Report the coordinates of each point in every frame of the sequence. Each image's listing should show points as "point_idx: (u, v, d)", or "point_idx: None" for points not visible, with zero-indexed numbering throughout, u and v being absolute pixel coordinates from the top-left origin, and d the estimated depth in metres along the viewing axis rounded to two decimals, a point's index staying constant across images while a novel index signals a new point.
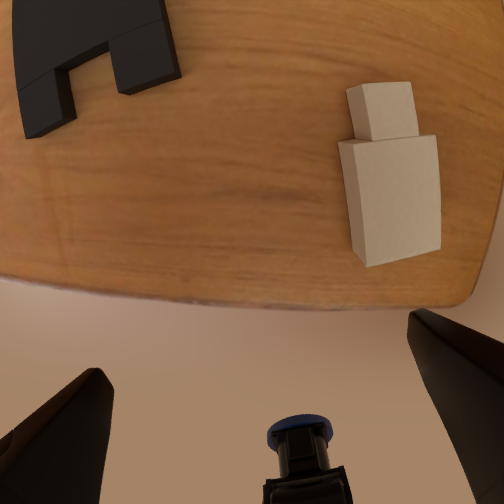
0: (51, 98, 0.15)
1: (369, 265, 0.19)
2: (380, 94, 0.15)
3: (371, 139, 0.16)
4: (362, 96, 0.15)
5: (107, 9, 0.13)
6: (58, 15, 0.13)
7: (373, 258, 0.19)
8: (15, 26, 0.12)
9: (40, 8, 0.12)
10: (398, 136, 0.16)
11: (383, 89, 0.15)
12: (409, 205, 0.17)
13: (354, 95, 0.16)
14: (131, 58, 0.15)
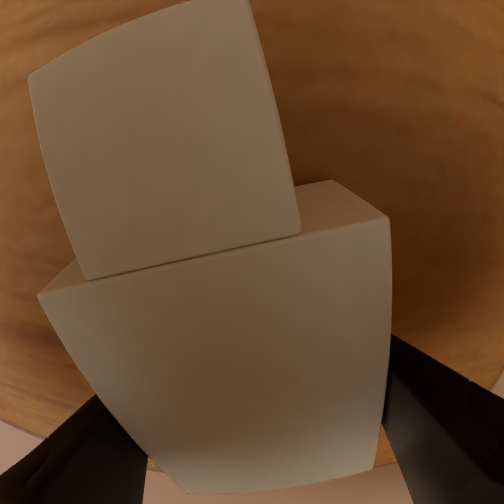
0: None
1: (190, 493, 0.07)
2: (87, 86, 0.03)
3: None
4: (42, 116, 0.04)
5: None
6: None
7: (194, 488, 0.07)
8: None
9: None
10: (185, 253, 0.04)
11: (99, 61, 0.03)
12: (269, 432, 0.06)
13: None
14: None
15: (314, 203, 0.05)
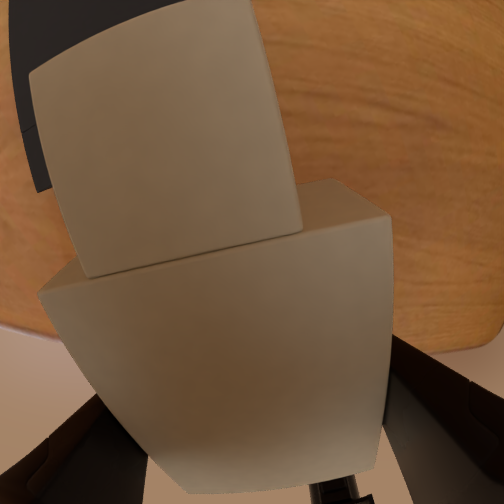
0: None
1: (191, 492, 0.07)
2: (88, 83, 0.03)
3: None
4: (43, 114, 0.04)
5: None
6: (67, 37, 0.11)
7: (195, 488, 0.07)
8: (13, 50, 0.11)
9: (43, 27, 0.11)
10: (187, 250, 0.04)
11: (100, 59, 0.03)
12: (270, 432, 0.06)
13: None
14: None
15: (315, 201, 0.05)
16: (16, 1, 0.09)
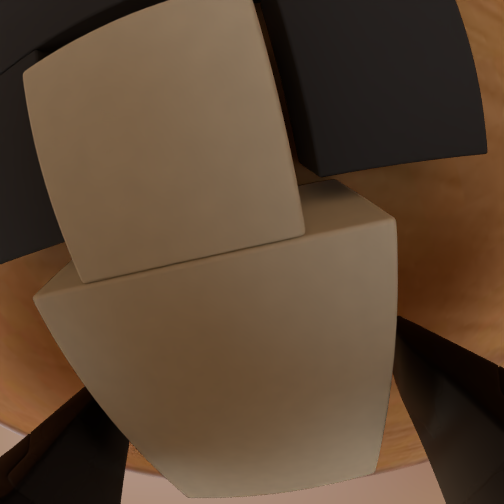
0: (30, 157, 0.04)
1: (191, 496, 0.07)
2: (83, 82, 0.03)
3: None
4: (37, 114, 0.03)
5: None
6: None
7: (195, 492, 0.07)
8: None
9: None
10: (185, 255, 0.04)
11: (96, 57, 0.03)
12: (270, 437, 0.06)
13: None
14: (372, 55, 0.04)
15: (317, 203, 0.05)
16: None
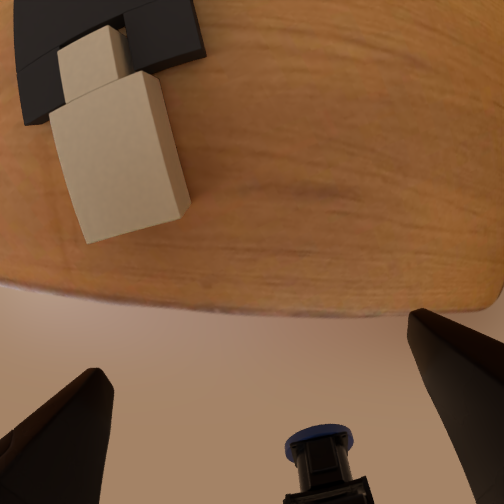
0: (55, 78, 0.13)
1: (88, 241, 0.16)
2: (73, 53, 0.11)
3: (66, 102, 0.13)
4: (60, 62, 0.12)
5: None
6: None
7: (89, 233, 0.15)
8: (17, 3, 0.10)
9: None
10: (91, 89, 0.12)
11: (76, 47, 0.11)
12: (115, 164, 0.14)
13: None
14: (150, 32, 0.12)
15: None
16: None
